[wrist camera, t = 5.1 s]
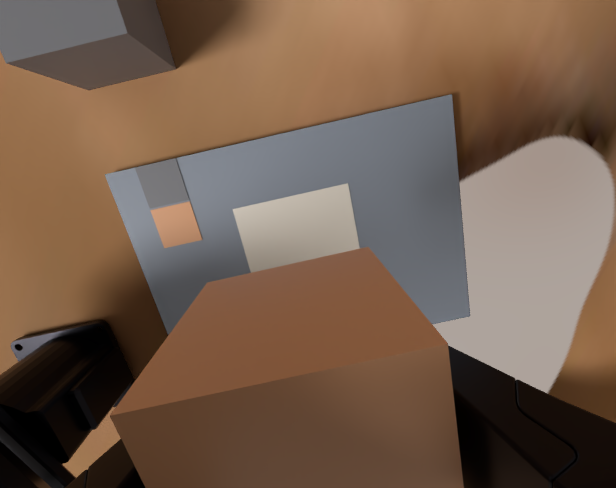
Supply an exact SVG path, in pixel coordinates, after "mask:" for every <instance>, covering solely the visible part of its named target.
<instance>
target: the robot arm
mask: <svg viewBox="0 0 616 488" xmlns="http://www.w3.org/2000/svg"><path fill="white" fill-rule="evenodd" d="M98 327H101V328H102V330H100V329H99V328H98ZM21 345H22V346H21ZM11 349H12V351H13V352H14V354H15V356H16V358H17V359H18V361H19V362H18V363H16V364H15V365H13V366H12V367H11V368H9V369H8V370H7V371H5V372H4V373H2V374H1V375H0V488H145V486H144V484H143V482H142V480H141V478H140V476H139V474H138V472H137V470H136V468H135V465H134V463H133V461H132V459H131V457H130V455H129V453H128V451H127V449H126V447H125V445H124V443H123V441H122V439H120V440H119V441H118V442H117V443H116V444H114V445H113V446H112V447H111V448H110V449H109V450H108V451H107V452H105V453H104V454H103V455H102V456H101V457H100V458H99V459H97V460H96V461H95V462H94V463H93V464H92V465H91V466H89V468H88V470H85V471H84V472H82V473H81V474H80V475H79V476H78V477H77V478H76V477H75V476H74V475H73V474H72V473H71V472H70V471H68V470H67V469H66V468H65V467H64V466H63V465H62V463H66V462H68V461H69V460H70V458H71V457H72V456H73V454H74V453H75V452H76V450H77V449H78V448H79V447H80V445H81V444H82V443H83V441H84V440H85V439H86V437H87V436H88V435H89V433H90V432H91V431H92V430H94V429H96V428H97V427H98V426H99V424H100V423H101V422H102V420H103V419H104V418H105V416H106V415H107V414H108V412H109V411H110V410H111V408H112V407H116V406H117V405H118V404H119V402H120V401H121V400H122V398H123V397H124V396H125V394H126V393H127V391H128V390H129V389H130V387H131V386H132V385H133V383H134V382H135V381H134V379H133V377H132V374H131V372H130V370H129V368H128V366H127V363H126V361H125V359H124V357H123V354H122V352H121V350H120V348H119V346H118V343H117V341H116V339H115V337H114V334H113V332H112V330H111V328H110V326H109V324H108V323H107V322H106V321H103V320H98V321H94V322H89V323H85V324H80V325H75V326H71V327H66V328H62V329H57V330H53V331H48V332H43V333H39V334H34V335H30V336H25V337H20V338H18V339H17V340H15V341H13V342H12V343H11ZM448 350H449V359H450V368H451V377H452V386H453V395H454V404H455V413H456V422H457V431H458V440H459V449H460V458H461V467H462V476H463V485H464V488H616V423H615V422H612V421H610V420H607V419H605V418H602V417H600V416H597V415H595V414H593V413H590V412H588V411H586V410H583V409H581V408H579V407H576V406H574V405H571V404H569V403H567V402H564V401H562V400H560V399H558V398H556V397H553V396H551V395H549V394H547V393H545V392H543V391H541V390H538V389H536V388H534V387H532V386H530V385H528V384H526V383H524V382H522V381H520V380H516V381H515V378H513V377H511V376H509V375H507V374H505V373H503V372H501V371H499V370H497V369H495V368H493V367H491V366H489V365H487V364H485V363H483V362H481V361H478V360H477V359H475V358H472V357H470V356H468V355H466V354H464V353H462V352H460V351H458V350H456V349H454V348H452V347H450V346H448Z"/></svg>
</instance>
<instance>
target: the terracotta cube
mask: <svg viewBox="0 0 616 488" xmlns="http://www.w3.org/2000/svg"><path fill="white" fill-rule="evenodd" d="M110 417H111V419H112V421H113V423H114V425H115V427H116V429H117V431H118V433H119V435H120V437H121V439H122V441H123V443H124V445H125V447H126V449H127V451H128V453H129V455H130V457H131V459H132V461H133V463H134V465H135V468H136V470H137V472H138V474H139V476H140V478H141V480H142V482H143V484H144V486H145V488H464V485H463V476H462V467H461V458H460V449H459V440H458V431H457V422H456V413H455V404H454V395H453V386H452V377H451V368H450V359H449V350H448V343H447V342H446V341H445V340H444V338H442V336H441V335H440V334H439V332H438V331H437V330H436V329H435V327H434V326H433V325H432V324H431V323H430V321H429V320H428V319H427V318H426V316H425V315H424V314H423V313H422V312H421V310H420V309H419V308H418V307H417V305H416V304H415V303H414V302H413V301H412V299H411V298H410V297H409V296H408V294H407V293H406V292H405V291H404V290H403V288H402V287H401V286H400V285H399V283H398V282H397V281H396V280H395V279H394V277H393V276H392V275H391V274H390V273H389V271H388V270H387V269H386V268H385V266H384V265H383V264H382V263H381V262H380V260H379V259H378V258H377V257H376V255H375V254H374V253H373V252H372V251H371V249H370V248H369V247H365V248H360V249H356V250H351V251H347V252H342V253H338V254H333V255H329V256H324V257H320V258H315V259H311V260H306V261H302V262H297V263H293V264H288V265H284V266H279V267H275V268H270V269H266V270H261V271H257V272H252V273H248V274H243V275H239V276H234V277H230V278H225V279H221V280H216V281H212V282H207V283H206V285H205V286H204V288H203V289H202V290H201V292H200V293H199V294H198V296H197V297H196V298H195V300H194V301H193V303H192V304H191V305H190V307H189V308H188V309H187V311H186V312H185V314H184V315H183V316H182V318H181V319H180V320H179V322H178V323H177V324H176V326H175V327H174V329H173V330H172V331H171V333H170V334H169V335H168V337H167V338H166V339H165V341H164V342H163V344H162V345H161V346H160V348H159V349H158V350H157V352H156V353H155V355H154V356H153V357H152V359H151V360H150V361H149V363H148V364H147V365H146V367H145V368H144V370H143V371H142V372H141V374H140V375H139V376H138V378H137V379H136V381H135V382H134V383H133V385H132V386H131V387H130V389H129V390H128V391H127V393H126V394H125V396H124V397H123V398H122V400H121V401H120V402H119V404H118V405H117V407H116V408H115V409H114V411H113V412H112V413H111V415H110Z"/></svg>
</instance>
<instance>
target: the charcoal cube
mask: <svg viewBox="0 0 616 488" xmlns="http://www.w3.org/2000/svg"><path fill="white" fill-rule="evenodd" d="M0 50H1V53H2V55H3V57H4V60H5V62H6V63H7V64H10V65H13V66H17V67H20V68H23V69H26V70H29V71H32V72H35V73H38V74H41V75H44V76H47V77H50V78H53V79H56V80H59V81H62V82H65V83H68V84H71V85H74V86H77V87H80V88H83V89H86V90H92V89H96V88H100V87H104V86H108V85H113V84H117V83H121V82H125V81H129V80H133V79H137V78H142V77H146V76H150V75H154V74H158V73H162V72H166V71H171V70H175V69H176V67H175V64H174V61H173V57H172V54H171V51H170V47H169V44H168V41H167V38H166V34H165V31H164V28H163V24H162V21H161V18H160V15H159V11H158V8H157V5H156V1H155V0H0Z"/></svg>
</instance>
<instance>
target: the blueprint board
mask: <svg viewBox="0 0 616 488" xmlns="http://www.w3.org/2000/svg"><path fill="white" fill-rule="evenodd" d="M105 176H106V179H107V181H108V184H109V186H110V189H111V191H112V194H113V197H114V199H115V202H116V204H117V207H118V209H119V212H120V214H121V217H122V219H123V222H124V224H125V227H126V230H127V232H128V235H129V237H130V240H131V242H132V245H133V247H134V250H135V252H136V255H137V257H138V260H139V262H140V265H141V268H142V270H143V273H144V275H145V278H146V280H147V283H148V285H149V288H150V290H151V293H152V295H153V298H154V301H155V303H156V306H157V308H158V311H159V313H160V316H161V318H162V321H163V323H164V326H165V328H166V331H167V334H168V335H169V334H170V333H171V331H172V330H173V329H174V327H175V326H176V324H177V323H178V322H179V320H180V319H181V318H182V316H183V315H184V314H185V312H186V311H187V309H188V308H189V307H190V305H191V304H192V303H193V301H194V300H195V298H196V297H197V296H198V294H199V293H200V292H201V290H202V289H203V288H204V286H205V285H206V283H207V282H212V281H216V280H221V279H225V278H230V277H234V276H239V275H243V274H248V273H252V272H257V271H261V270H266V269H270V268H275V267H279V266H284V265H288V264H293V263H297V262H302V261H306V260H311V259H315V258H320V257H324V256H329V255H333V254H338V253H342V252H347V251H351V250H356V249H360V248H365V247H369V248H370V249H371V251H372V252H373V253H374V254H375V255H376V257H377V258H378V259H379V260H380V262H381V263H382V264H383V265H384V266H385V268H386V269H387V270H388V271H389V273H390V274H391V275H392V276H393V277H394V279H395V280H396V281H397V282H398V283H399V285H400V286H401V287H402V288H403V290H404V291H405V292H406V293H407V294H408V296H409V297H410V298H411V299H412V301H413V302H414V303H415V304H416V305H417V307H418V308H419V309H420V310H421V312H422V313H423V314H424V315H425V316H426V318H427V319H428V320H429V321H430V323H431V324H436V323H440V322H445V321H450V320H454V319H459V318H464V317H469V316H470V308H469V296H468V284H467V272H466V260H465V248H464V235H463V223H462V211H461V199H460V187H459V174H458V162H457V150H456V138H455V126H454V114H453V101H452V94H450V95H446V96H442V97H438V98H433V99H429V100H425V101H420V102H416V103H412V104H407V105H403V106H399V107H394V108H390V109H386V110H381V111H377V112H373V113H368V114H364V115H360V116H356V117H351V118H347V119H343V120H338V121H334V122H330V123H325V124H321V125H317V126H312V127H308V128H304V129H299V130H295V131H291V132H287V133H282V134H278V135H274V136H269V137H265V138H261V139H256V140H252V141H248V142H243V143H239V144H235V145H230V146H226V147H222V148H217V149H213V150H209V151H205V152H200V153H196V154H192V155H187V156H183V157H179V158H174V159H170V160H165V161H161V162H157V163H152V164H148V165H144V166H139V167H135V168H131V169H127V170H123V171H118V172H114V173H110V174H105Z"/></svg>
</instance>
